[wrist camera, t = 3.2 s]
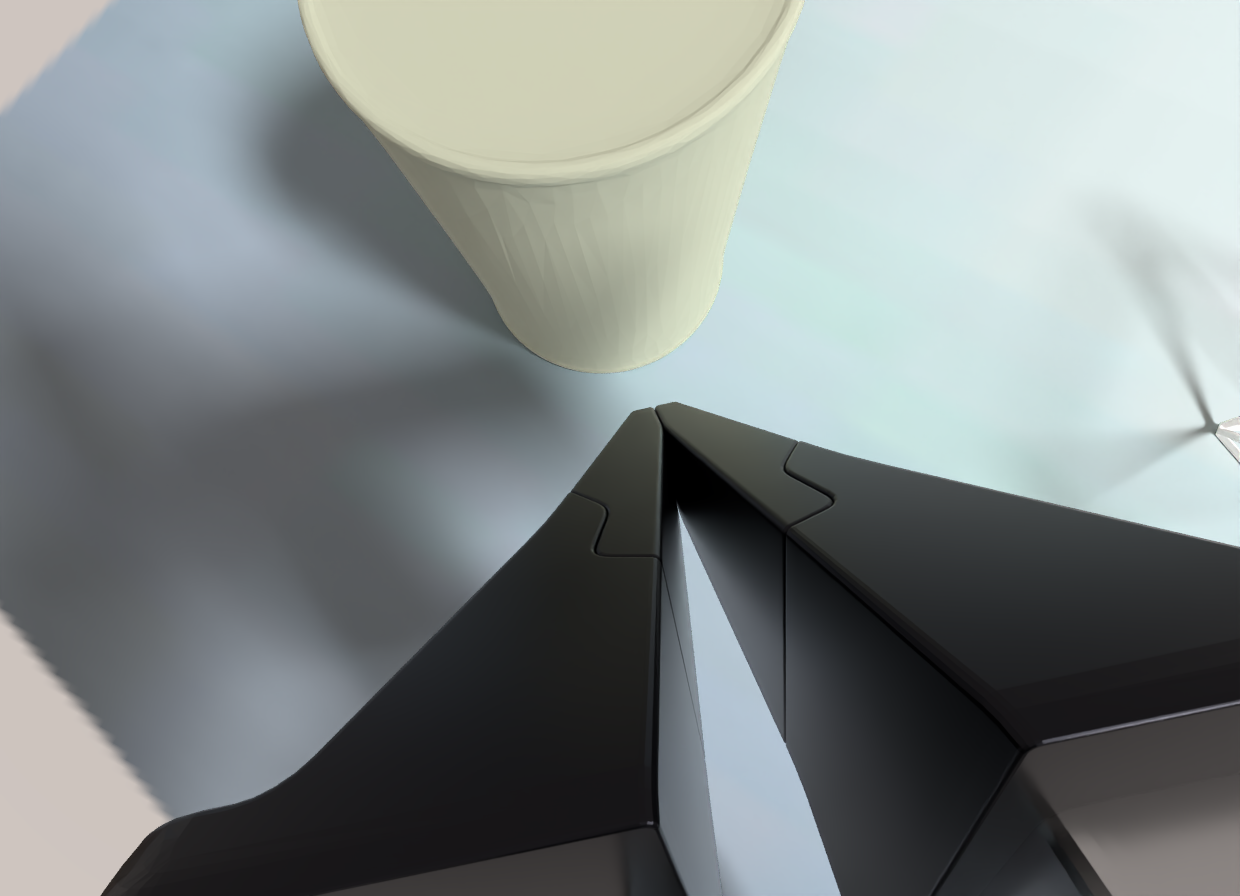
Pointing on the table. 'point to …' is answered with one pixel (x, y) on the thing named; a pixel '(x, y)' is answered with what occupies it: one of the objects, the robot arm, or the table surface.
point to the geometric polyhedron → (1230, 435)
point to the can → (569, 148)
